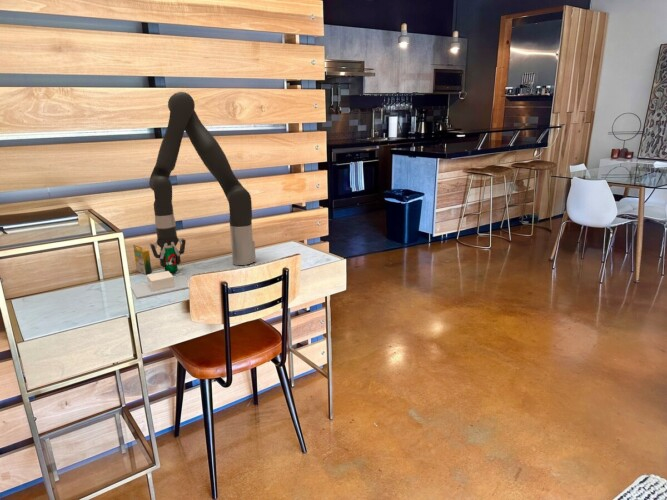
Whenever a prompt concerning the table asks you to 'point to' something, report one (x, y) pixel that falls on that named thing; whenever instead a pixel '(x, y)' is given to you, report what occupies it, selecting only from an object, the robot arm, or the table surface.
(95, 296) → the table surface
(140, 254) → the crayon box
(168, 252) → the soda can
